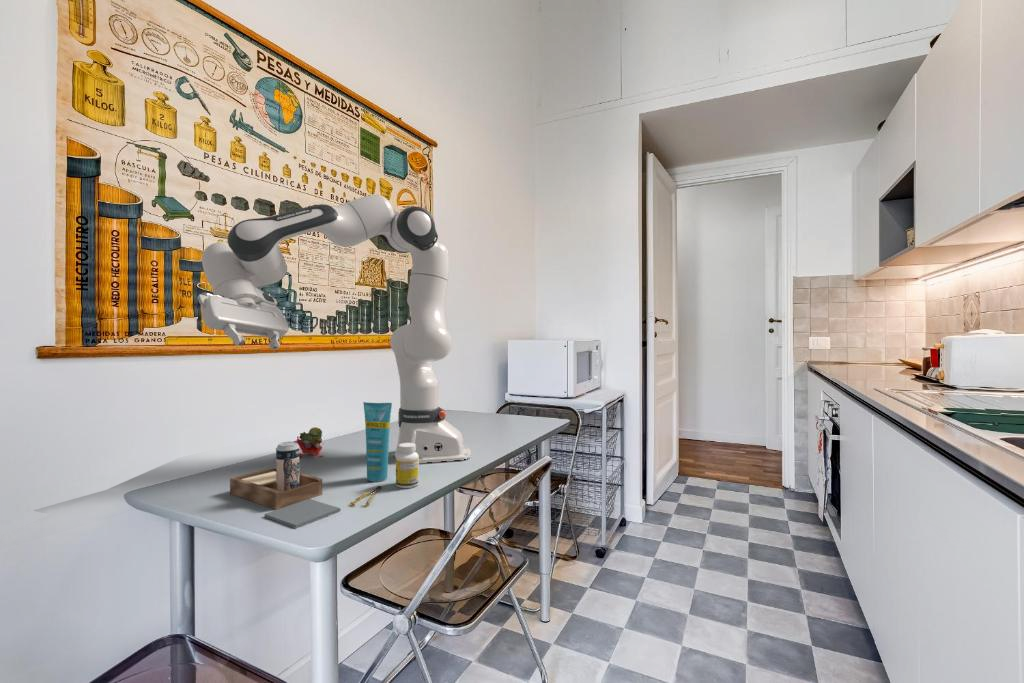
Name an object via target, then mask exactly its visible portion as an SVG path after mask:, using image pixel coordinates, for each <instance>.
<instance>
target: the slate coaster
mask: <svg viewBox="0 0 1024 683" xmlns="http://www.w3.org/2000/svg"><path fill="white" fill-rule="evenodd" d="M339 512H341V507H338V506H334V505H331V504H328V503H324V502H321V501H317V500H315V499H312V498H310V499H307V500H304V501H301V502H298V503H295V504H292V505H289V506H286V507H283V508H280V509H277V510H276V509H274V510H272V511H270V512H267V513H264V518H267V519H270V520H272V521H274V522H278V523H280V524H283V525H286V526H289V527H291V528H294V529H298V528H301V527H302V526H306V525H308V524H310V523H314V522H316V521H319V520H321V519H323V518H326V517H328V516H331V514H332V515H334V514H336V513H339Z"/></svg>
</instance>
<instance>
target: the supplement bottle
mask: <svg viewBox="0 0 1024 683" xmlns="http://www.w3.org/2000/svg"><path fill="white" fill-rule="evenodd" d="M415 450H416V444H414V443H402V444H399V452H400V453H399V454H397V455H396V457H395V486H396V487H397V488H399V487H400V489H412V488H415V487H418V485H419V483H420V476H419V475H420V471H419V470H420V468H419V467H420V463H419V456H418V454H417V453H416V452H415Z"/></svg>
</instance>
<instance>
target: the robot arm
mask: <svg viewBox="0 0 1024 683" xmlns="http://www.w3.org/2000/svg"><path fill="white" fill-rule="evenodd" d="M311 232H315V233H321V234H322V235H324V236H325V237H326V238H327V240H329V241H330V242H331V243H332V244H335V245H336V246H339V247H343V248H350V247H353V246H357V245H359V244H361V243H363V242H366V241H367V240H370V239H371V238H374V237H376V236H378V237H380V238H381V240H383V242H384V243H385V244H386V245H387V246H388V247H389V249H390V250H392V251H393V252H395V253H399V254H408V253H409V254H410V257H411V260H412V262H411V263H412V267H411V271H410V277H409V284H408V291H407V296H406V303H407V305H408V307H409V312H410V323H409V324H408V323H407V324H404V325H402V326H400V327H398V328H397V329H395V330H394V331H393V332H392V334H391V336H390V340H389V343H390V348H391V350H392V352H393V353H394V356H395V362H396V366H397V370H398V376H399V389H400V390H399V391H400V392H399V394H400V395H399V396H400V399H399V400H400V401H399V402H400V405H399V408H398V412H397V413H398V415H397V416H398V417H397V418H398V423H397V424H398V427H399V429H398V431H399V432H398V437H397V443H396V448H395V452H394V458H396V455H397V454H399V453H400V452H399V444H402V443H414V444H416V450H415V452H416V453H417V454H418V456H419V464H428V463H427V462H432V463H442V462H441V461H447V462H455V461H454V460H461V461H465V460H464V459H466V460H468V459H469V458H468V457H470V458H471V456H472V450H471V448H470V447H468V446H467V445H465V442H464V437H463V434H462V432H461V431H460V430H459V429H458V428H456V427H455V426H454V425H452V424H451V423H450V422H448V421H447V420H446V415H447V413H446V410H445V409H444V408H442V407H440V406H439V381H438V378H437V377H436V375H435V372H434V369H433V365H432V363H433V362H438V361H441V360H442V359H445V358H446V357H447V356H448V355H449V354H450V352H451V349H452V348H453V347H452V346H453V338H452V336H451V334H450V332H449V331H448V328H447V323H446V322H447V321H446V313H445V309H446V308H445V306H446V305H445V304H446V296H447V289H448V282H449V274H450V255H449V253H450V252H449V251H448V248H447V247H446V246H445V245H444V244H442V243H441V242H438V238H439V235H438V232H437V229H436V223H435V220H434V217H433V215H432V214H431V213H430V212H429V211H428V210H427V209H426V208H423V207H421V206H417V205H416V206H414V205H413V206H409V207H406V208H404V209H402V210H401V211H400V212H399V211H398V210H396V209H395V208H393V206H392V204H391V202H390V200H388V199H387V198H386V197H385V196H383V195H381V194H371V195H367V196H362V197H358V198H355V199H353V200H349V201H348V202H347V201H346V202H345V203H342V204H339V205H333V206H331V205H329V204H324V203H322V204H321V203H320V204H314V205H310V206H304V207H302V208H297V209H293V210H291V211H287V212H283V213H279V214H274V215H271V216H267V217H260V218H259V217H256V218H248V219H244V220H242V221H239V222H238V223H236V224H235V225H234V226H233V227H232V228H231V229H230V230H229V233H228V234H227V235H228V236H227V239H226V240H227V242H225V241H218V242H214V243H211V244H210V245H208V246H207V247H206V248H205V249H204V250H203V253H202V255H201V262H202V263H201V264H202V269H203V272H204V275H205V277H206V280H207V282H208V284H209V286H211V287H212V291H213V292H212V293H210V292H202V293H199V294H198V296H197V299H198V302H199V304H200V312H201V317H202V321H203V323H204V325H205V326H206V327H207V328H208V329H211V330H216V331H217V330H218V331H223V333H224V334H225V336H228V338H230V340H232V342H233V345H234V346H243V345H244V344H245V343H246V340H245V338H244V335H242V334H245V335H246V334H247V335H252V336H253V335H254V336H258V337H259V336H261V337H268V338H267V339H269V340H270V342H269V343H268V347H269V348H270V349H271V350H278V349H279V348H280V347H281V344H280V342H279V339H281V338H282V337H285V335H286V334H287V333H288V332H289V328H290V327H289V324H288V322H287V320H286V318H285V315H284V313H283V312H282V310H281V309H280V308H279V307H278V301H277V299H276V298H275V297H273V296H272V295H269V294H267V293H265V292H263V291H262V290H261V289H259V288H263V287H268V286H271V285H275V284H277V283H279V282H280V281H282V280H283V279H284V277H286V275H287V272H288V265H287V263H286V260H285V257H284V255H283V253H282V250H281V248H280V244H281V243H282V241H283V242H284V241H285V240H288V239H290V238H295V237H297V236H301V235H304V234H307V233H311ZM470 455H471V456H470ZM467 458H468V459H467Z"/></svg>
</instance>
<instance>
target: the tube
mask: <svg viewBox="0 0 1024 683" xmlns="http://www.w3.org/2000/svg"><path fill="white" fill-rule="evenodd" d="M362 404H363V410H364V411H363V412H364V421H365V422H364V424H365V425H364V426H365V444H366V445H365V448H366V452H365V453H366V454H365V455H366V479H367V481H369V482H373V483H375V482H377V483H378V482H383V480H384V481H386V480H387V479H388V466H389V449H390V446H389V445H390V428H391V413H392V407H393V406H392V405H393V403H392V402H366V401H363V402H362ZM385 479H386V480H385Z"/></svg>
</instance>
